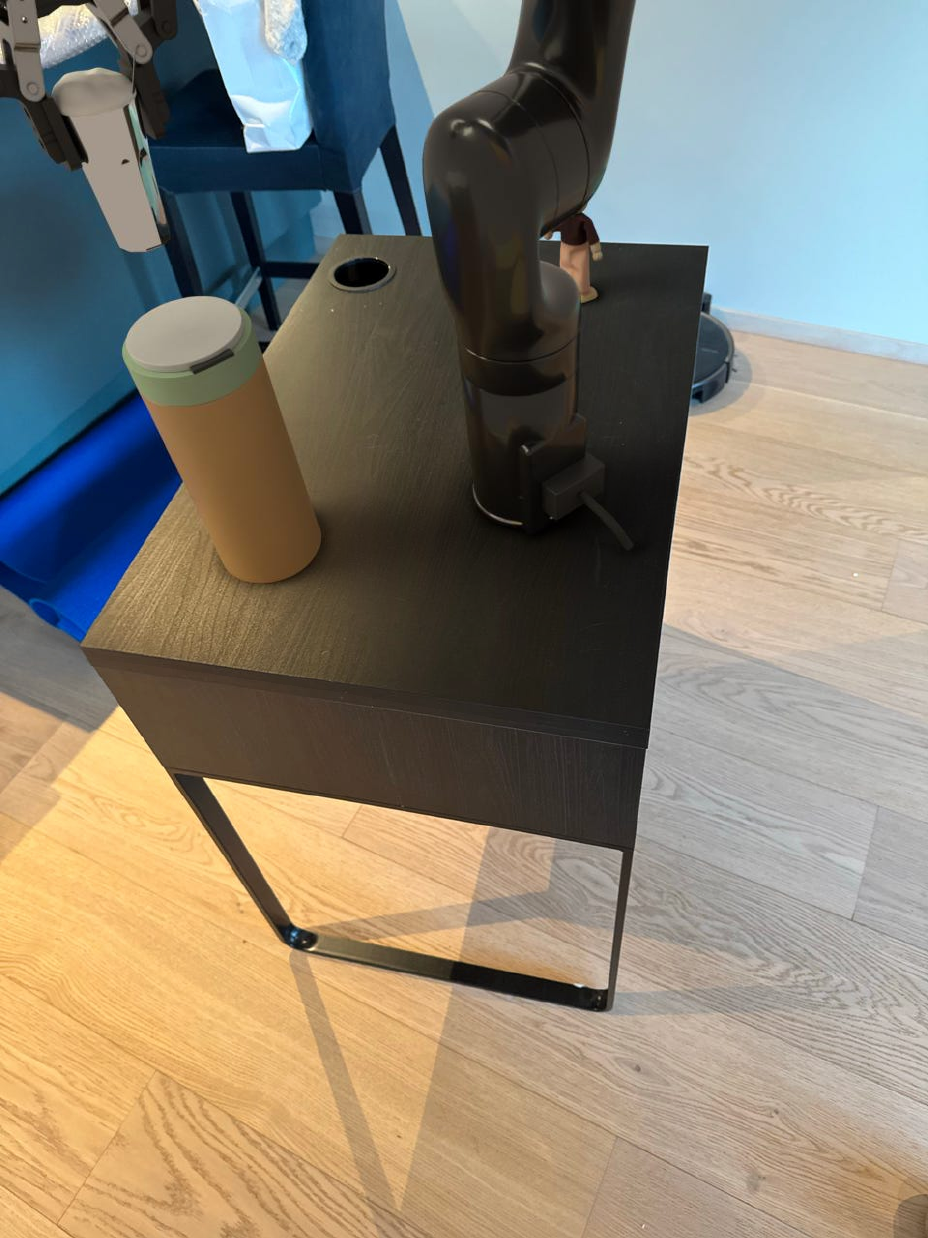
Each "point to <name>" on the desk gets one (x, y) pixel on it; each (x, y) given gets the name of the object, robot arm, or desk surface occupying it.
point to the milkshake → (114, 153)
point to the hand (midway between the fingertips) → (114, 147)
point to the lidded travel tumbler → (225, 434)
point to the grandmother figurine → (578, 250)
